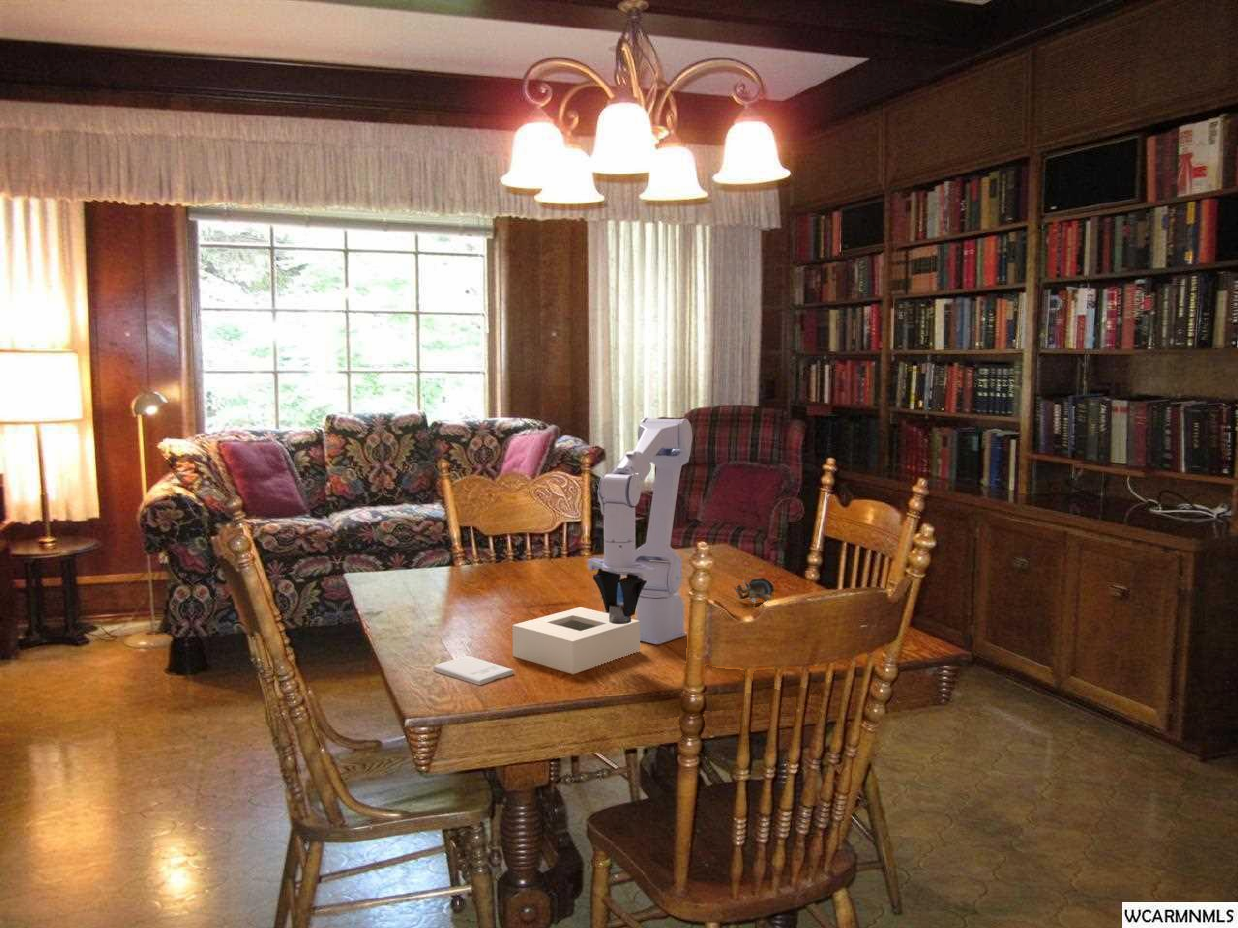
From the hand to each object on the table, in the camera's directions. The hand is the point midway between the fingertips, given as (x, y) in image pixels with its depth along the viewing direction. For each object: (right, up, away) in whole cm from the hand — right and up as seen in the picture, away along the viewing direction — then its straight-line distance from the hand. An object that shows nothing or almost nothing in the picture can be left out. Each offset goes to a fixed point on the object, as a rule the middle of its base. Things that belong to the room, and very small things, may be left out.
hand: (620, 613), depth 181 cm
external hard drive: (-26, -11, -3) cm, 29 cm away
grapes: (-1, -7, +27) cm, 28 cm away
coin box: (-8, -9, +7) cm, 14 cm away
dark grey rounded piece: (0, -1, 0) cm, 2 cm away
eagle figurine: (+31, -5, +43) cm, 53 cm away
